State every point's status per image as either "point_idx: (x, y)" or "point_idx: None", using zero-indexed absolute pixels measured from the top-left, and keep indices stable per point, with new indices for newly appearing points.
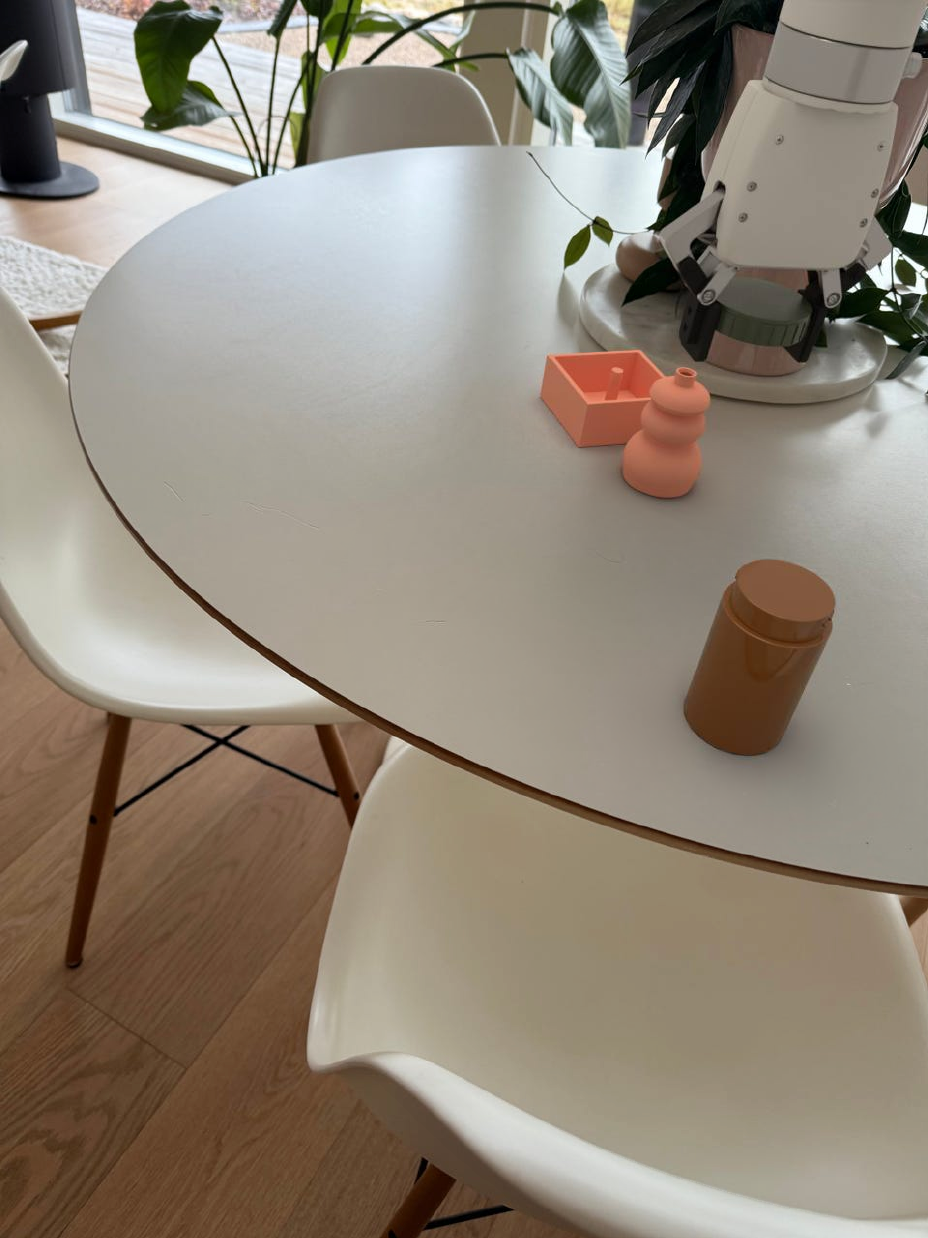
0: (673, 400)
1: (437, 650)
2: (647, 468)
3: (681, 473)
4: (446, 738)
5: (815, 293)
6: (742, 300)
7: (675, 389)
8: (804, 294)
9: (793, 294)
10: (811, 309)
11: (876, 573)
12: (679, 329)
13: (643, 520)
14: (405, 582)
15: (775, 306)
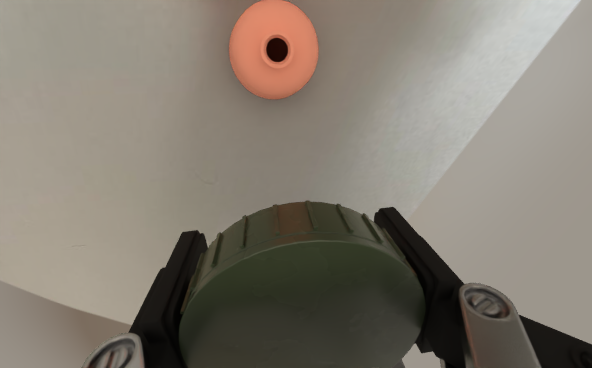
0: (255, 86)
1: (85, 267)
2: (247, 88)
3: (281, 97)
4: (104, 315)
5: (439, 351)
6: (256, 358)
7: (260, 69)
8: (433, 305)
9: (406, 306)
10: (401, 357)
11: (404, 186)
12: (159, 271)
13: (243, 129)
14: (44, 213)
15: (326, 362)
